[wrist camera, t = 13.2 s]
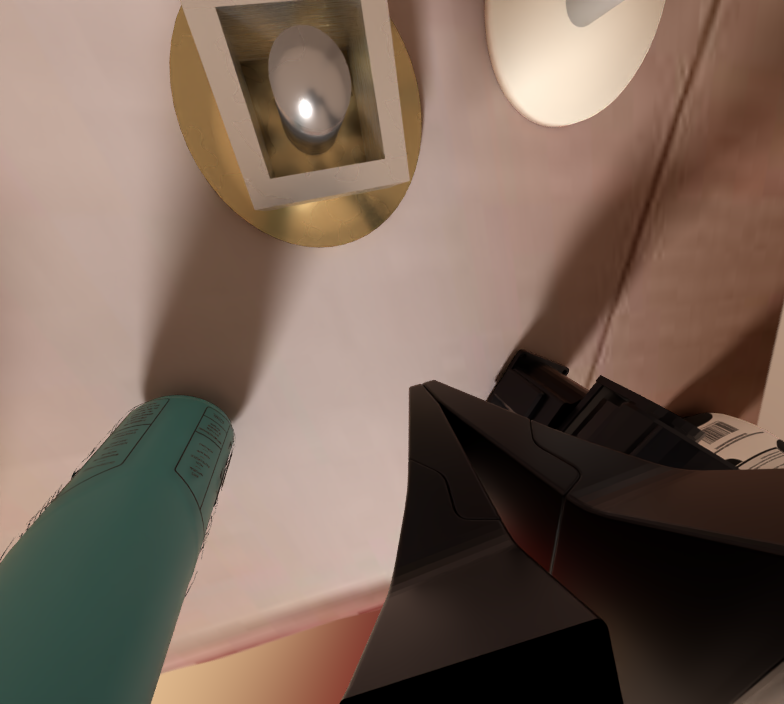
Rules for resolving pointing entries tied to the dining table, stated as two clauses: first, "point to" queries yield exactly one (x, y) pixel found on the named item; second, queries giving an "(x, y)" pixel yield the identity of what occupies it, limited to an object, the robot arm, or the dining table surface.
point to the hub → (294, 130)
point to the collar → (254, 42)
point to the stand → (567, 53)
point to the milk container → (739, 441)
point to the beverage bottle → (113, 560)
